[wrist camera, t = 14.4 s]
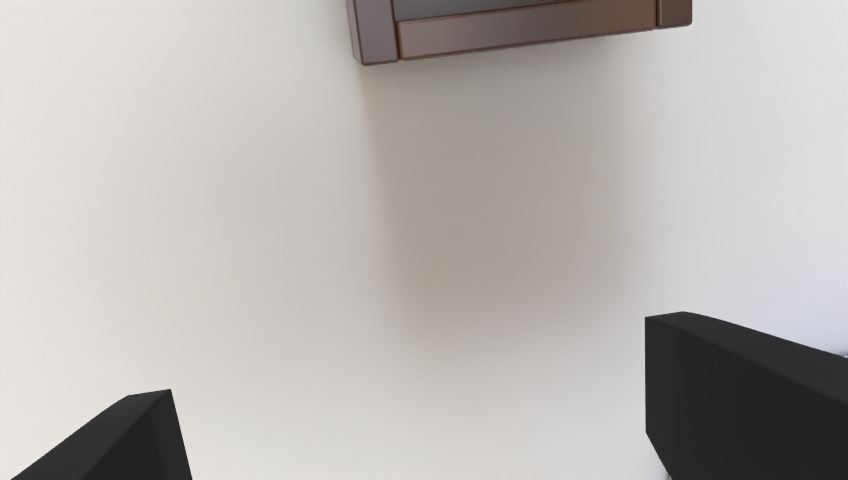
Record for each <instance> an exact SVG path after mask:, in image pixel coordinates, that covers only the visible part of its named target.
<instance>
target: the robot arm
mask: <svg viewBox="0 0 848 480" xmlns="http://www.w3.org/2000/svg"><path fill="white" fill-rule="evenodd" d="M645 402H646V434H647V435H648V437H649V439H650V441H651V443H652V445H653V447H654V449H655V451H656V452H657V454H658V456H659V458H660V460H661V462H662V463H663V465H664V467H665V469H666V470H667V472H668V474H669V476H670V480H848V355H847V356H839V355H835V354H832V353H828V352H825V351H821V350H818V349H815V348H811V347H808V346H805V345H801V344H798V343H795V342H792V341H788V340H785V339H782V338H779V337H775V336H772V335H769V334H766V333H763V332H759V331H756V330H753V329H750V328H746V327H743V326H740V325H737V324H733V323H730V322H727V321H723V320H719V319H716V318H712V317H708V316H704V315H700V314H695V313H690V312H683V311H682V312H676V313H669V314H662V315H656V316H649V317H645ZM11 480H192V476H191V472H190V467H189V463H188V459H187V455H186V451H185V446H184V442H183V438H182V434H181V430H180V425H179V421H178V417H177V413H176V408H175V404H174V400H173V396H172V392H171V389H167V390H161V391H154V392H147V393H141V394H134V395H128V396H126V397H124V398H123V399H121V400H119V401H117V402H116V403H114V404H113V405H111V406H110V407H108V408H107V409H106V410H104V411H103V412H101V413H100V414H99V415H97V416H96V417H94V418H93V419H92V420H90V421H89V422H88V423H86V424H85V425H84V426H82V427H81V428H80V429H78V430H77V431H76V432H74V433H73V434H72V435H70V436H69V437H68V438H66V439H65V440H64V441H62V442H61V443H60V444H58V445H57V446H56V447H54V448H53V449H52V450H50V451H49V452H48V453H46V454H45V455H44V456H42V457H41V458H40V459H38V460H37V461H36V462H34V463H33V464H32V465H30V466H29V467H28V468H26V469H25V470H24V471H22V472H21V473H20V474H18V475H17V476H15V477H14V478H12V479H11Z"/></svg>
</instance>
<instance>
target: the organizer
mask: <svg viewBox="0 0 848 480" xmlns="http://www.w3.org/2000/svg"><path fill="white" fill-rule="evenodd" d="M346 6H347V13H348V20H349V27H350V34H351V42H352V49H353V56H354V58H356V59H357V61H358V62H359V63H360V64H361V65H362V66H372V65H380V64H388V63H396V62H398V61H399V60H402V61H411V60H419V59H427V58H435V57H443V56H451V55H459V54H467V53H475V52H483V51H491V50H499V49H507V48H515V47H523V46H531V45H539V44H547V43H556V42H564V41H572V40H580V39H588V38H596V37H604V36H612V35H620V34H628V33H636V32H644V31H652V30H654V29H668V28H676V27H684V26H689V25H690V24H691V23H692V0H346Z"/></svg>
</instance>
